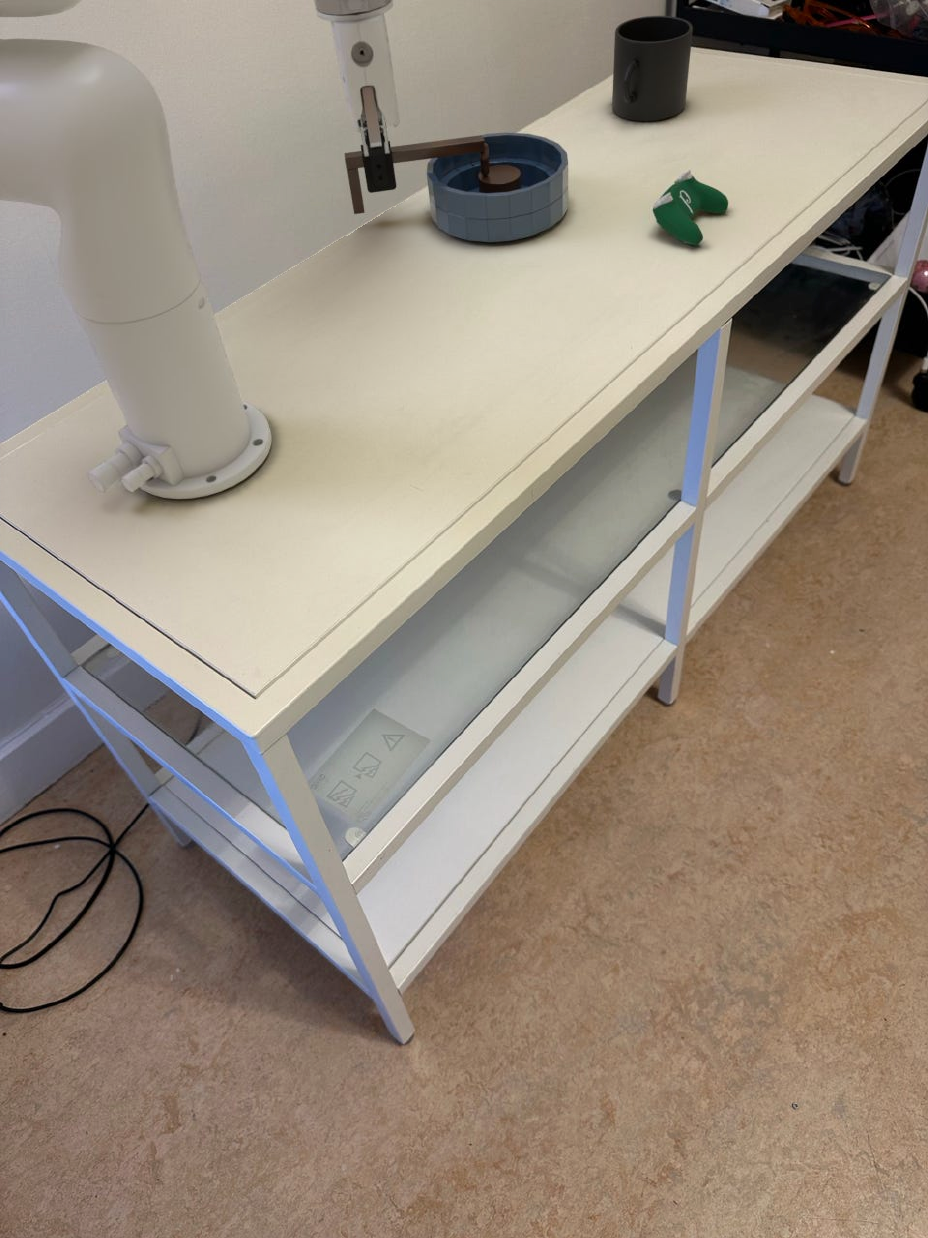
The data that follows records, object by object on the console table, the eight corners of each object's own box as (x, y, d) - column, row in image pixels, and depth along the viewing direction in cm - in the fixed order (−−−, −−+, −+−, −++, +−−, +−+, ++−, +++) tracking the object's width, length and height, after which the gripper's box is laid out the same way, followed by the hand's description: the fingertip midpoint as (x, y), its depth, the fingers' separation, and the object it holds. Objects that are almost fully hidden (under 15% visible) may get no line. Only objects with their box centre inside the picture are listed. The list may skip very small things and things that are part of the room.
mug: (589, 123, 116) (590, 44, 109) (632, 88, 122) (636, 11, 115) (656, 135, 112) (662, 54, 105) (697, 98, 118) (705, 19, 111)
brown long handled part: (517, 179, 104) (516, 123, 99) (524, 198, 101) (523, 141, 96) (352, 201, 103) (343, 146, 99) (354, 221, 100) (345, 164, 96)
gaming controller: (707, 222, 101) (674, 178, 99) (734, 202, 98) (700, 156, 96) (675, 262, 96) (640, 216, 94) (702, 242, 93) (666, 194, 91)
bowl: (516, 259, 96) (514, 207, 91) (405, 226, 102) (398, 177, 98) (593, 197, 103) (594, 147, 99) (484, 170, 110) (481, 123, 105)
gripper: (398, 11, 81) (422, 212, 95) (384, -38, 91) (408, 151, 105) (315, 22, 81) (352, 223, 95) (311, -27, 91) (344, 160, 105)
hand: (381, 184), depth 100 cm, fingers closed on brown long handled part, 1 cm apart
